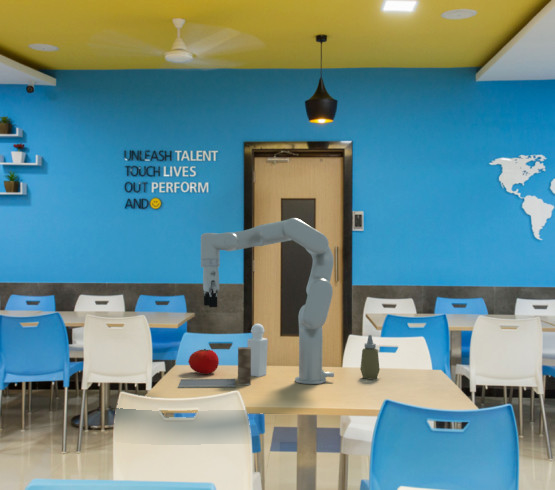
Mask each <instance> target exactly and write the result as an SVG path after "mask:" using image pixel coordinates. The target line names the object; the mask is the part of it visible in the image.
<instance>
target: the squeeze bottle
mask: <svg viewBox="0 0 555 490" xmlns="http://www.w3.org/2000/svg"><path fill="white" fill-rule="evenodd" d="M380 370H381V369H380V359H379V350H378V349H377V348H376V343H374V341H373V337H372V334H368V336H367V342H366V343H364V348H362V351H361V359H360V373H361V376H362V378H363V379H365V378H366V379H365V380H376V379H378V376H379V373H380Z"/></svg>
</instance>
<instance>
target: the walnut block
mask: <svg viewBox="0 0 555 490" xmlns="http://www.w3.org/2000/svg"><path fill="white" fill-rule="evenodd" d="M251 377H252V376H251V347H248V346H245V347H243V346H239V347H237V385H238V386H246V385H247V386H250V385H251V384H252V383H251V382H252V381H251V379H252V378H251Z"/></svg>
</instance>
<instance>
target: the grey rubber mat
mask: <svg viewBox="0 0 555 490" xmlns="http://www.w3.org/2000/svg"><path fill="white" fill-rule="evenodd" d="M179 381H180V382H179V384H178V385H177V389H191V388H192V389H199V388H200V389H202V388H203V389H204V388H206V389H208V388H211V389H212V388H215V389H216V388H236V378H181V379H180V380H179Z"/></svg>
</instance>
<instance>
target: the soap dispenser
mask: <svg viewBox="0 0 555 490" xmlns="http://www.w3.org/2000/svg"><path fill="white" fill-rule="evenodd" d="M265 332H266V331H265V327H264V325H263V324H261V323H254V324H253V325H252V327H251V330H250V333H251V335H252V338H248V339H247V347H251V377H256V378H260V377H265V376H267V367H268V366H267V365H268V363H267V362H268V348H269V347H268V343H269V339H268V338H267V337H264V333H265Z"/></svg>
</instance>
